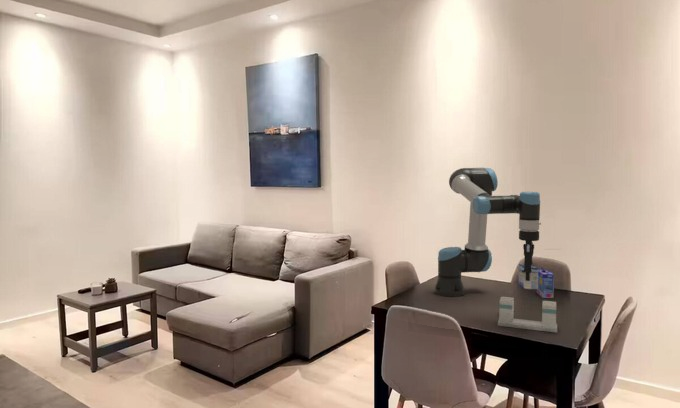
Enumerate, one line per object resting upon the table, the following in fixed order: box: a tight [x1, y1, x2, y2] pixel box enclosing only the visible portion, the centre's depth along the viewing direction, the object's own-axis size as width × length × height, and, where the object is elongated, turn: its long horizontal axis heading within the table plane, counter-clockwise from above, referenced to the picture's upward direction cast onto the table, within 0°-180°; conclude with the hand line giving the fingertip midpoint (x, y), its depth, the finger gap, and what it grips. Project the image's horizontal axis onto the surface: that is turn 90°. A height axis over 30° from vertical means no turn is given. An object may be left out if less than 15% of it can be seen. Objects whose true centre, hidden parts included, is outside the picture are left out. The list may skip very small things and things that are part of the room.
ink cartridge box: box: [536, 266, 555, 299], centre depth 233 cm, size 10×6×14 cm, turn 174°
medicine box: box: [518, 263, 539, 290], centre depth 187 cm, size 8×4×9 cm, turn 5°
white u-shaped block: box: [497, 296, 558, 334], centre depth 188 cm, size 22×8×10 cm, turn 66°
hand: (528, 285), depth 187 cm, fingers closed on medicine box, 9 cm apart
